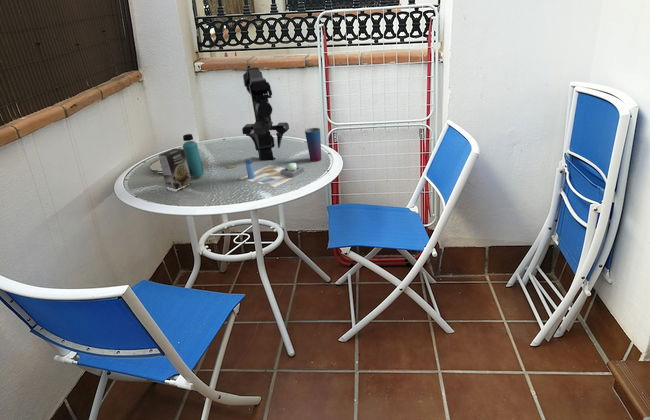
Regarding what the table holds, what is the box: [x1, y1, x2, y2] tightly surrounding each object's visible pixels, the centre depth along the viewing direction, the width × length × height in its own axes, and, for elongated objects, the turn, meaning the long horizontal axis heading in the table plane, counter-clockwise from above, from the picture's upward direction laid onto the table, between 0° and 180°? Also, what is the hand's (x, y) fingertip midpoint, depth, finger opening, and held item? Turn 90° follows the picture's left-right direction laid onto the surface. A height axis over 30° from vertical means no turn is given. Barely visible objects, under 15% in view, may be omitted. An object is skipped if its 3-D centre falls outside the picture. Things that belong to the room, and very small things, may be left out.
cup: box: [304, 127, 322, 163], centre depth 217 cm, size 7×7×15 cm
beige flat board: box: [240, 164, 299, 188], centre depth 208 cm, size 23×20×1 cm
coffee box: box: [158, 148, 193, 189], centre depth 205 cm, size 9×6×16 cm
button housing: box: [281, 165, 305, 179], centre depth 207 cm, size 7×7×2 cm
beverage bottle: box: [182, 133, 205, 178], centre depth 213 cm, size 6×7×20 cm
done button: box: [286, 162, 297, 172], centre depth 206 cm, size 4×4×3 cm
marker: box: [244, 158, 255, 179], centre depth 206 cm, size 3×3×8 cm
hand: (268, 148), depth 204 cm, fingers open, 9 cm apart
